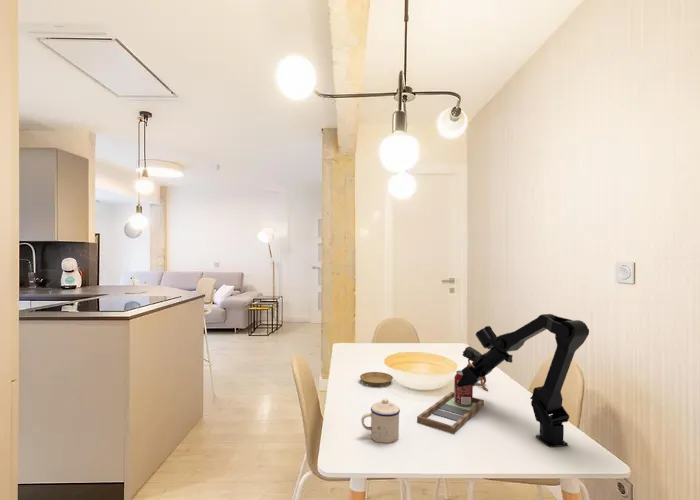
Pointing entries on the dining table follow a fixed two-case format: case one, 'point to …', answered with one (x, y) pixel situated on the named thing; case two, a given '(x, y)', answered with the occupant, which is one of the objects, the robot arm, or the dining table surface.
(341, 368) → the dining table surface
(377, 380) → the plant saucer
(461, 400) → the soda can
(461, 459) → the dining table surface
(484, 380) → the cat figurine
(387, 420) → the teacup with lid
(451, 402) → the pad
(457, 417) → the pads
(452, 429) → the walnut tray
